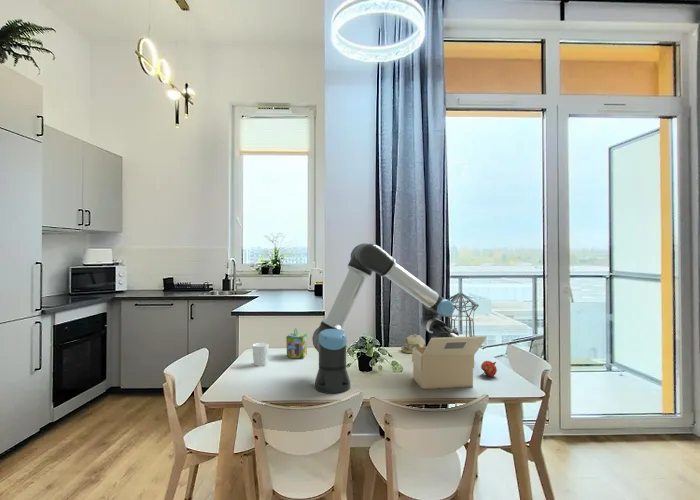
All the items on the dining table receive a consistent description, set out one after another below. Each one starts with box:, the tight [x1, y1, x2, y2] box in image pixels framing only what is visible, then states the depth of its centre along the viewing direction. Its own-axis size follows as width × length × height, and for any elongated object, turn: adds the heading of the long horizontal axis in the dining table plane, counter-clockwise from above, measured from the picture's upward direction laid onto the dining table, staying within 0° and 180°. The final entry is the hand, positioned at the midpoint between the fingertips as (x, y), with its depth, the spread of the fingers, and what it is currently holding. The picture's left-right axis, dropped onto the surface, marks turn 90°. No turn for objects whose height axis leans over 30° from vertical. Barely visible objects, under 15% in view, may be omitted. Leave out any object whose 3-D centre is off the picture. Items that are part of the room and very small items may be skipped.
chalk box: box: [285, 328, 308, 359], centre depth 222 cm, size 9×9×15 cm
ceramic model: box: [400, 333, 426, 354], centre depth 233 cm, size 14×11×10 cm
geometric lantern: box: [446, 292, 480, 337], centre depth 217 cm, size 16×16×35 cm
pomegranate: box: [479, 360, 498, 378], centre depth 189 cm, size 7×7×10 cm
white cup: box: [252, 342, 270, 367], centre depth 207 cm, size 8×8×10 cm
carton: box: [411, 346, 475, 390], centre depth 180 cm, size 23×14×14 cm, turn 97°
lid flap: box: [423, 335, 487, 356], centre depth 167 cm, size 22×15×1 cm
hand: (457, 339), depth 166 cm, fingers closed
